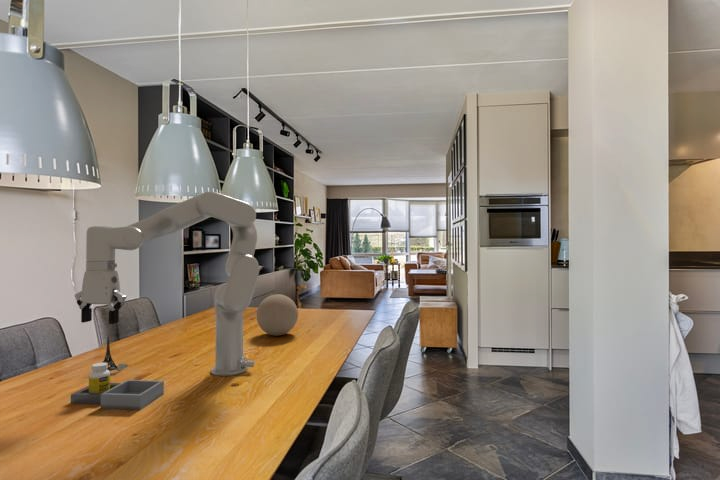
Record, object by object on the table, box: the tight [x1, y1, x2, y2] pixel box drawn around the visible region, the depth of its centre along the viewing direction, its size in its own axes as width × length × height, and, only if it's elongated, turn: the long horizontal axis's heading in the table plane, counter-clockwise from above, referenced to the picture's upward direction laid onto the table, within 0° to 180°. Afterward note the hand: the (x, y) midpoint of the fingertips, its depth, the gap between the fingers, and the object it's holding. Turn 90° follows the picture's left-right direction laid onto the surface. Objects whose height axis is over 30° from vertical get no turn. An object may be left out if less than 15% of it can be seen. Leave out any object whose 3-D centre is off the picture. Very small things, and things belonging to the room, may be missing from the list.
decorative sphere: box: [256, 293, 299, 337], centre depth 201 cm, size 20×20×20 cm
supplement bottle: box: [88, 362, 111, 393], centre depth 122 cm, size 5×5×10 cm
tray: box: [100, 379, 165, 411], centre depth 119 cm, size 12×12×4 cm
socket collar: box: [70, 382, 122, 405], centre depth 122 cm, size 10×10×2 cm
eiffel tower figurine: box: [101, 335, 130, 377], centre depth 148 cm, size 15×10×13 cm
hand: (100, 322), depth 125 cm, fingers open, 9 cm apart
